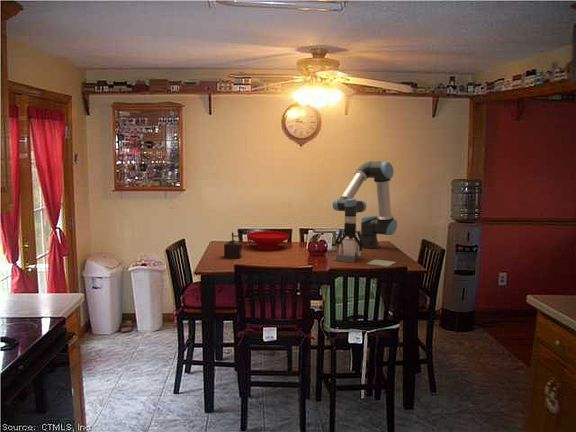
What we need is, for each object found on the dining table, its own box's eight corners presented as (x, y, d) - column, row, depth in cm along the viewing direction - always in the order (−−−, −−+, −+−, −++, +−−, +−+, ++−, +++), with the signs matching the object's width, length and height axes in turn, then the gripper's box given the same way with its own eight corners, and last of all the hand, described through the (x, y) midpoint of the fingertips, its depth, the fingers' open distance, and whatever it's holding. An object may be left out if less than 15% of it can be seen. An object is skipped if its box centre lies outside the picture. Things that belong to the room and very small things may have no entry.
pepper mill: (240, 259, 341) (240, 231, 339) (223, 258, 342) (223, 231, 340) (244, 254, 356) (244, 228, 354) (227, 254, 357) (227, 228, 355)
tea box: (316, 251, 369) (316, 231, 367) (311, 249, 379) (312, 229, 377) (336, 250, 373) (336, 230, 371) (331, 248, 383) (331, 228, 381)
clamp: (343, 256, 353) (343, 250, 352) (362, 258, 346) (362, 252, 345) (333, 260, 339) (333, 254, 339) (352, 262, 332) (353, 256, 332)
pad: (375, 260, 340) (375, 259, 340) (395, 262, 333) (395, 261, 333) (366, 264, 328) (366, 263, 328) (388, 266, 321) (388, 265, 321)
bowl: (249, 244, 398) (249, 231, 397) (289, 244, 397) (289, 231, 396) (244, 251, 368) (244, 237, 367) (288, 252, 367) (288, 238, 366)
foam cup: (355, 258, 347) (356, 238, 345) (357, 261, 337) (358, 241, 336) (341, 258, 346) (341, 238, 345) (343, 261, 337) (343, 241, 336)
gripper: (330, 221, 342) (329, 253, 345) (366, 224, 330) (365, 257, 332) (335, 220, 349) (334, 252, 351) (370, 223, 336) (369, 256, 338)
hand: (349, 254), depth 341 cm, fingers open, 13 cm apart
